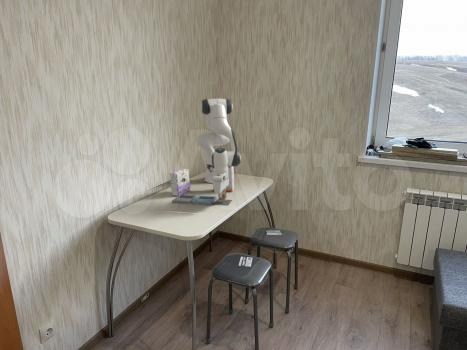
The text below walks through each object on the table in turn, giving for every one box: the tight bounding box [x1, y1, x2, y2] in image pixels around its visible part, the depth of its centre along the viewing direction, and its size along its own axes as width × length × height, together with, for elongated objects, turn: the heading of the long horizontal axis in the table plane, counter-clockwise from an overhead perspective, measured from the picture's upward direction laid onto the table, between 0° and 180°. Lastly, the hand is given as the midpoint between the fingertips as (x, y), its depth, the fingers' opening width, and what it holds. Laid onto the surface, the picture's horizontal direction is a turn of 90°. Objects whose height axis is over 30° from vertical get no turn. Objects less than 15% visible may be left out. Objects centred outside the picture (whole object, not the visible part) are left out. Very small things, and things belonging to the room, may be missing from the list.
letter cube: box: [217, 192, 227, 200], centre depth 220 cm, size 4×4×4 cm
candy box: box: [169, 168, 191, 197], centre depth 243 cm, size 14×6×16 cm, turn 149°
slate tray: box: [192, 195, 217, 206], centre depth 224 cm, size 12×12×2 cm
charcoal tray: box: [172, 194, 198, 205], centre depth 228 cm, size 12×12×2 cm
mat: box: [212, 198, 233, 206], centre depth 221 cm, size 10×10×1 cm
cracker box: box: [212, 164, 235, 193], centre depth 245 cm, size 14×6×21 cm, turn 76°
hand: (222, 195), depth 220 cm, fingers closed on letter cube, 4 cm apart
